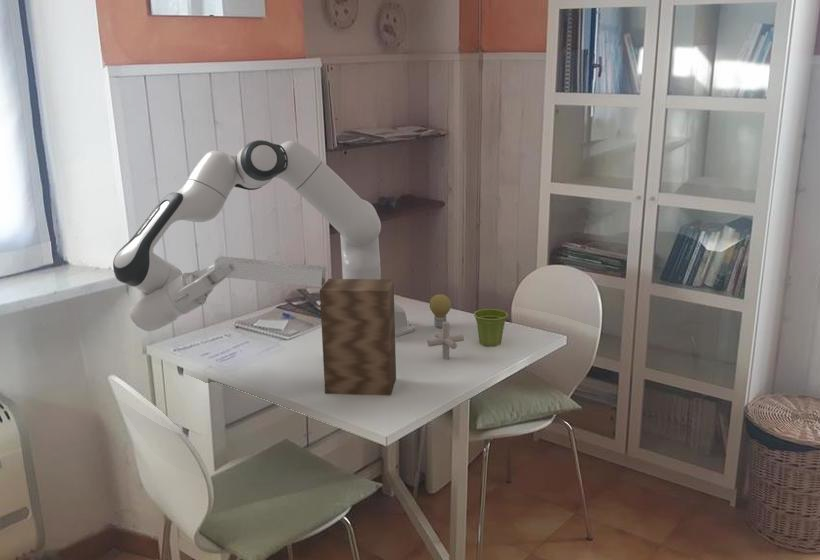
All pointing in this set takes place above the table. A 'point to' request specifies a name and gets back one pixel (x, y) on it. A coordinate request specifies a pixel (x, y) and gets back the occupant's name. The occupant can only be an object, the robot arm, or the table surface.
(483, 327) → the plant pot
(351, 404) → the table surface
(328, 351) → the walnut stand
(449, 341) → the pipe connector
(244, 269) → the aluminium bar
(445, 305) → the light bulb
